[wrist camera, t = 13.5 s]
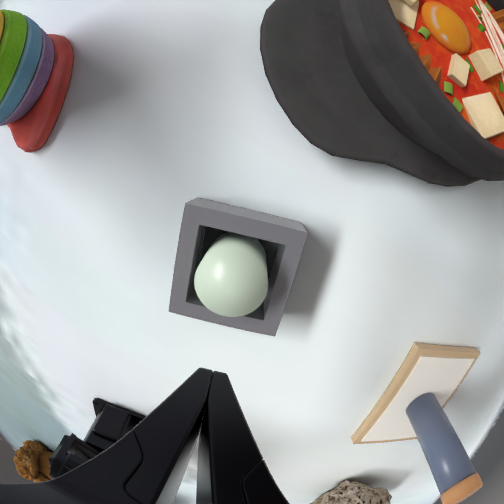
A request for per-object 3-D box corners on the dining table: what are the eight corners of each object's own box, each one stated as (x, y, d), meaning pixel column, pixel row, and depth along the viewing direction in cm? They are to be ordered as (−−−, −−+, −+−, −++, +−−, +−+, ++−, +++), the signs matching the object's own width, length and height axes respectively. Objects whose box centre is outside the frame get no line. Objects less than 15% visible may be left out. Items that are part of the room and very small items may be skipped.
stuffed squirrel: (68, 473, 35) (49, 513, 23) (20, 431, 32) (-6, 471, 19) (89, 475, 33) (69, 522, 21) (34, 429, 30) (5, 476, 17)
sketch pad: (414, 433, 26) (417, 439, 25) (351, 437, 25) (353, 445, 24) (475, 347, 22) (481, 353, 21) (414, 342, 21) (419, 349, 20)
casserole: (474, -1, 11) (519, -25, 3) (527, 167, 16) (587, 179, 8) (230, -14, 13) (216, -85, 5) (301, 216, 18) (332, 255, 10)
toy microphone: (414, 418, 23) (451, 507, 11) (398, 411, 22) (438, 510, 10) (440, 397, 22) (486, 483, 10) (426, 387, 21) (477, 485, 9)
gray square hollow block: (273, 313, 20) (275, 336, 18) (180, 291, 20) (168, 311, 17) (300, 222, 18) (307, 232, 16) (196, 197, 18) (185, 203, 15)
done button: (258, 293, 20) (257, 323, 16) (202, 280, 19) (189, 307, 16) (273, 239, 18) (276, 259, 15) (213, 225, 18) (201, 241, 14)
